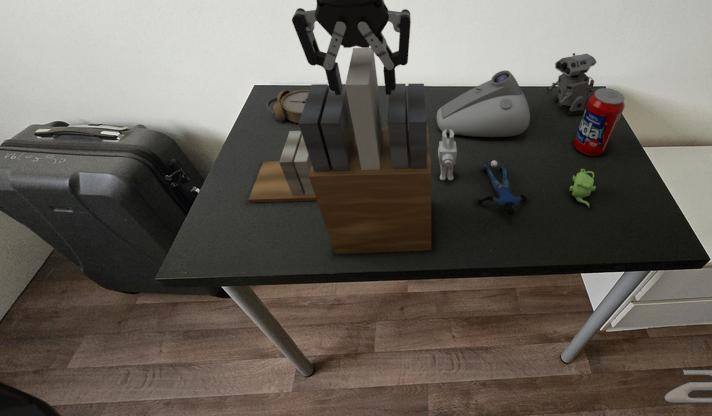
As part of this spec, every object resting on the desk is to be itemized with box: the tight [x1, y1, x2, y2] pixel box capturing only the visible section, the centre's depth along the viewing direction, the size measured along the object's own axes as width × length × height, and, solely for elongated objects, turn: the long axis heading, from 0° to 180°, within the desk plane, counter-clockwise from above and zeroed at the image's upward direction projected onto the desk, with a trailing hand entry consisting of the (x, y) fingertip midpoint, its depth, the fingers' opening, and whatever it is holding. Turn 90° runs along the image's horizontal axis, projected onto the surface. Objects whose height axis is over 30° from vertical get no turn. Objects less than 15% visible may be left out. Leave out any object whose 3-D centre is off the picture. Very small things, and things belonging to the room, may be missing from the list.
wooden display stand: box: [247, 130, 317, 204], centre depth 77 cm, size 12×14×10 cm
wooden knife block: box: [298, 83, 432, 255], centre depth 63 cm, size 12×18×28 cm, turn 95°
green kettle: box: [569, 168, 597, 208], centre depth 79 cm, size 6×5×6 cm
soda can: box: [573, 87, 626, 157], centre depth 87 cm, size 8×8×15 cm
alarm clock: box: [266, 89, 310, 124], centre depth 97 cm, size 11×5×15 cm
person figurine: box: [477, 159, 528, 217], centre depth 79 cm, size 11×4×18 cm
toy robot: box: [437, 129, 458, 181], centre depth 80 cm, size 4×8×12 cm, turn 3°
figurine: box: [546, 52, 597, 117], centre depth 99 cm, size 9×12×15 cm
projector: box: [436, 69, 531, 138], centre depth 93 cm, size 22×23×15 cm
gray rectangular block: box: [344, 47, 384, 170], centre depth 53 cm, size 10×3×14 cm, turn 5°
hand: (364, 91), depth 51 cm, fingers open, 6 cm apart
